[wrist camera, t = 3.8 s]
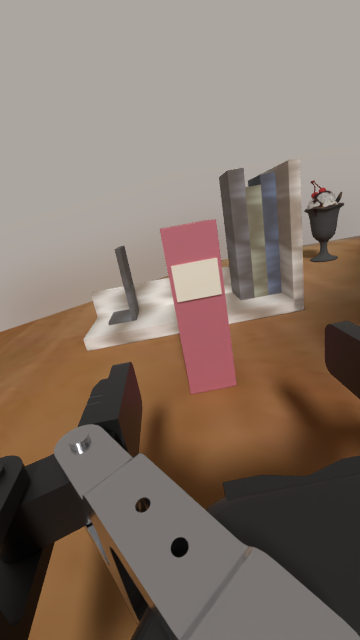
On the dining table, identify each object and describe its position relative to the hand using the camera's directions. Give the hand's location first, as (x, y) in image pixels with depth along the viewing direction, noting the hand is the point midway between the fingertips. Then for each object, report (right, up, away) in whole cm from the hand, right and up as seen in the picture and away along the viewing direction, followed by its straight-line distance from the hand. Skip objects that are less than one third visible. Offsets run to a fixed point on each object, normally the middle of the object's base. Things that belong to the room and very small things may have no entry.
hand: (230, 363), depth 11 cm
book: (0, -3, +12) cm, 12 cm away
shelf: (0, +2, +25) cm, 25 cm away
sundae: (+27, +14, +46) cm, 55 cm away
